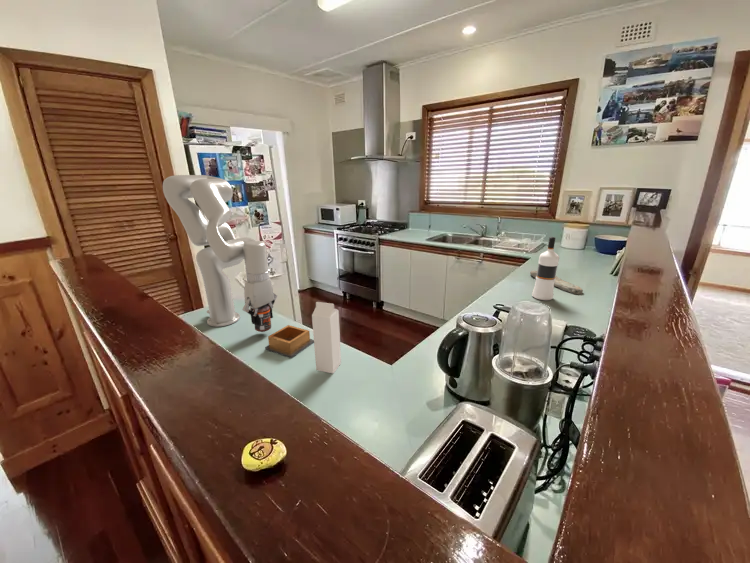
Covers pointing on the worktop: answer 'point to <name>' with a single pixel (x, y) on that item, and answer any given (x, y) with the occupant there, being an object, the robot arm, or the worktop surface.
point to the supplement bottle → (263, 319)
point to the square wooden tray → (289, 341)
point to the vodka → (546, 273)
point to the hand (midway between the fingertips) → (262, 320)
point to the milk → (326, 337)
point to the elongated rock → (563, 284)
